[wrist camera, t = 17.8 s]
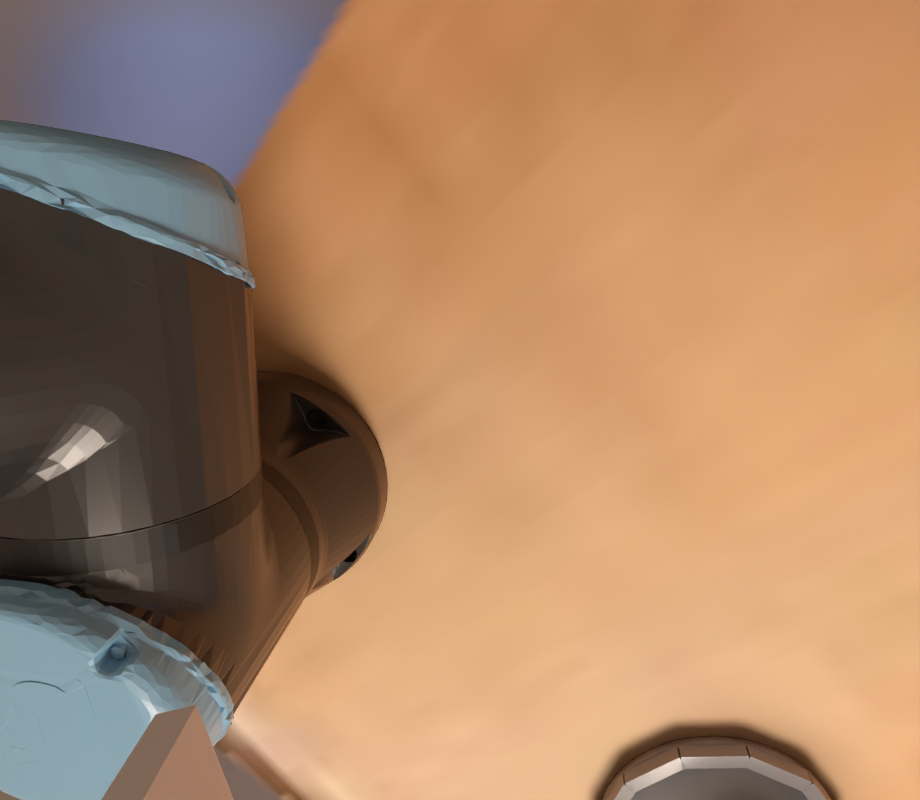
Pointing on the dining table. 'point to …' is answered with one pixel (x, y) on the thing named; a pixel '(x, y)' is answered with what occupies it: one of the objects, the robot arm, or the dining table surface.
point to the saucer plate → (714, 773)
